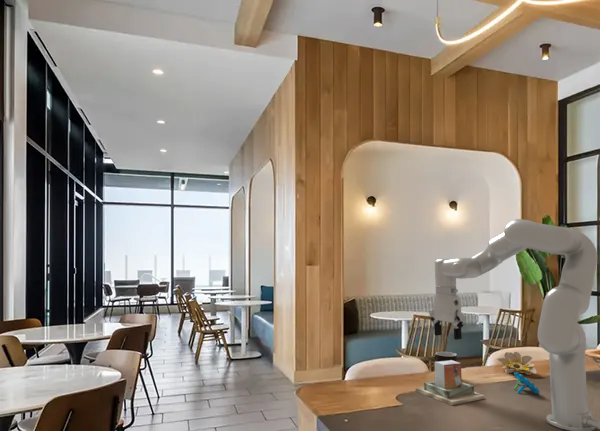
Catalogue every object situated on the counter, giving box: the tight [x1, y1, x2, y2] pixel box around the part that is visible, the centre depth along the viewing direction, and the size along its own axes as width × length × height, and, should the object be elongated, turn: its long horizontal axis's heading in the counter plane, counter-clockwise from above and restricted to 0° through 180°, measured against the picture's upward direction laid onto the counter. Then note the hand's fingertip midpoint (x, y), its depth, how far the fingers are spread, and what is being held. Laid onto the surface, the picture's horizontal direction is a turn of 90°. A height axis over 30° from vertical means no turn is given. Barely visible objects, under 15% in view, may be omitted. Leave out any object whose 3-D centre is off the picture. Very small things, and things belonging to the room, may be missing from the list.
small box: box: [434, 360, 463, 390], centre depth 161 cm, size 8×6×10 cm
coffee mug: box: [434, 351, 457, 362], centre depth 184 cm, size 12×9×10 cm
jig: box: [415, 380, 485, 406], centre depth 160 cm, size 18×16×4 cm
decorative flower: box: [496, 351, 537, 376], centre depth 190 cm, size 15×11×10 cm
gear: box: [513, 372, 541, 394], centre depth 163 cm, size 11×6×10 cm
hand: (447, 337), depth 163 cm, fingers open, 9 cm apart
